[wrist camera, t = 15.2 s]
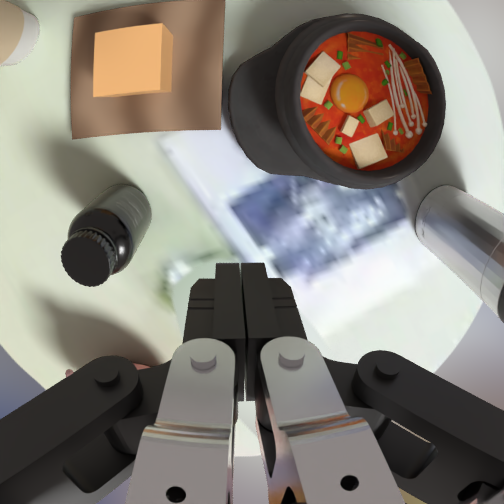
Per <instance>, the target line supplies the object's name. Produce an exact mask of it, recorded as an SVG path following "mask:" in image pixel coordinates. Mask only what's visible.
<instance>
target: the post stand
mask: <svg viewBox="0 0 504 504" xmlns="http://www.w3.org/2000/svg"><path fill="white" fill-rule="evenodd" d="M224 19H225V0H182V1H169V2H159V3H150V4H142V5H135V6H128V7H122V8H116V9H111V10H106V11H101V12H96V13H92V14H87V15H83V16H79V17H75V18H74V26H73V38H72V55H71V124H72V140H73V139H81V138H89V137H97V136H107V135H117V134H129V133H142V132H158V131H181V130H221V105H222V69H223V42H224ZM159 23H163V24H164V25H165V27H166V28H167V29H168V30H169V31H170V32H171V34H172V35H173V50H172V83H171V92H163V93H149V94H138V95H128V96H119V97H93V69H94V45H95V33H97V32H102V31H108V30H114V29H120V28H126V27H133V26H141V25H149V24H159Z"/></svg>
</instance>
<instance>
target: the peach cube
mask: <svg viewBox="0 0 504 504" xmlns="http://www.w3.org/2000/svg"><path fill="white" fill-rule="evenodd" d="M172 50H173V35H172V34H171V32H170V31H169V30H168V29H167V28H166V27H165V25H164V24H163V23H159V24H149V25H141V26H133V27H126V28H120V29H114V30H108V31H102V32H97V33H95V45H94V69H93V97H119V96H128V95H138V94H149V93H163V92H171V83H172Z"/></svg>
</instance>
